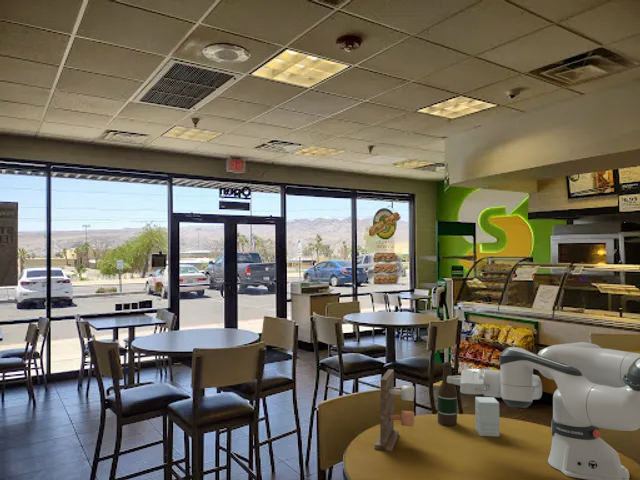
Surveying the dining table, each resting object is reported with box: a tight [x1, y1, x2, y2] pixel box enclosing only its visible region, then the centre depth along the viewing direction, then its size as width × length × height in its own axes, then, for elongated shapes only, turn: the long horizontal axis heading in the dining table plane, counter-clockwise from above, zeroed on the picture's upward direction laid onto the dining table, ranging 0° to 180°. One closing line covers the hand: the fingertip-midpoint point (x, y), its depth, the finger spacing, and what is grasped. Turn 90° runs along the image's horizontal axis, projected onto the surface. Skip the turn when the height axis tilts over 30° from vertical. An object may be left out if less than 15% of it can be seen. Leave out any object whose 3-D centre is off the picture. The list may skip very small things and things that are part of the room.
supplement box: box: [474, 396, 500, 437], centre depth 182 cm, size 7×7×13 cm
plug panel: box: [374, 368, 400, 452], centre depth 173 cm, size 6×16×24 cm, turn 162°
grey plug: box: [389, 384, 415, 402], centre depth 172 cm, size 10×5×5 cm, turn 72°
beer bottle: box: [437, 361, 458, 427], centre depth 192 cm, size 8×8×24 cm
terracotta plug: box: [389, 410, 415, 427], centre depth 172 cm, size 10×5×5 cm, turn 72°
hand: (447, 379), depth 167 cm, fingers closed
